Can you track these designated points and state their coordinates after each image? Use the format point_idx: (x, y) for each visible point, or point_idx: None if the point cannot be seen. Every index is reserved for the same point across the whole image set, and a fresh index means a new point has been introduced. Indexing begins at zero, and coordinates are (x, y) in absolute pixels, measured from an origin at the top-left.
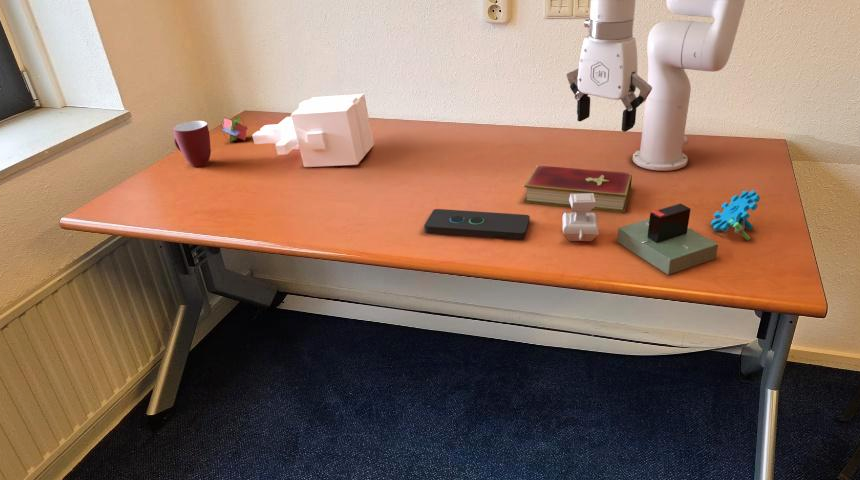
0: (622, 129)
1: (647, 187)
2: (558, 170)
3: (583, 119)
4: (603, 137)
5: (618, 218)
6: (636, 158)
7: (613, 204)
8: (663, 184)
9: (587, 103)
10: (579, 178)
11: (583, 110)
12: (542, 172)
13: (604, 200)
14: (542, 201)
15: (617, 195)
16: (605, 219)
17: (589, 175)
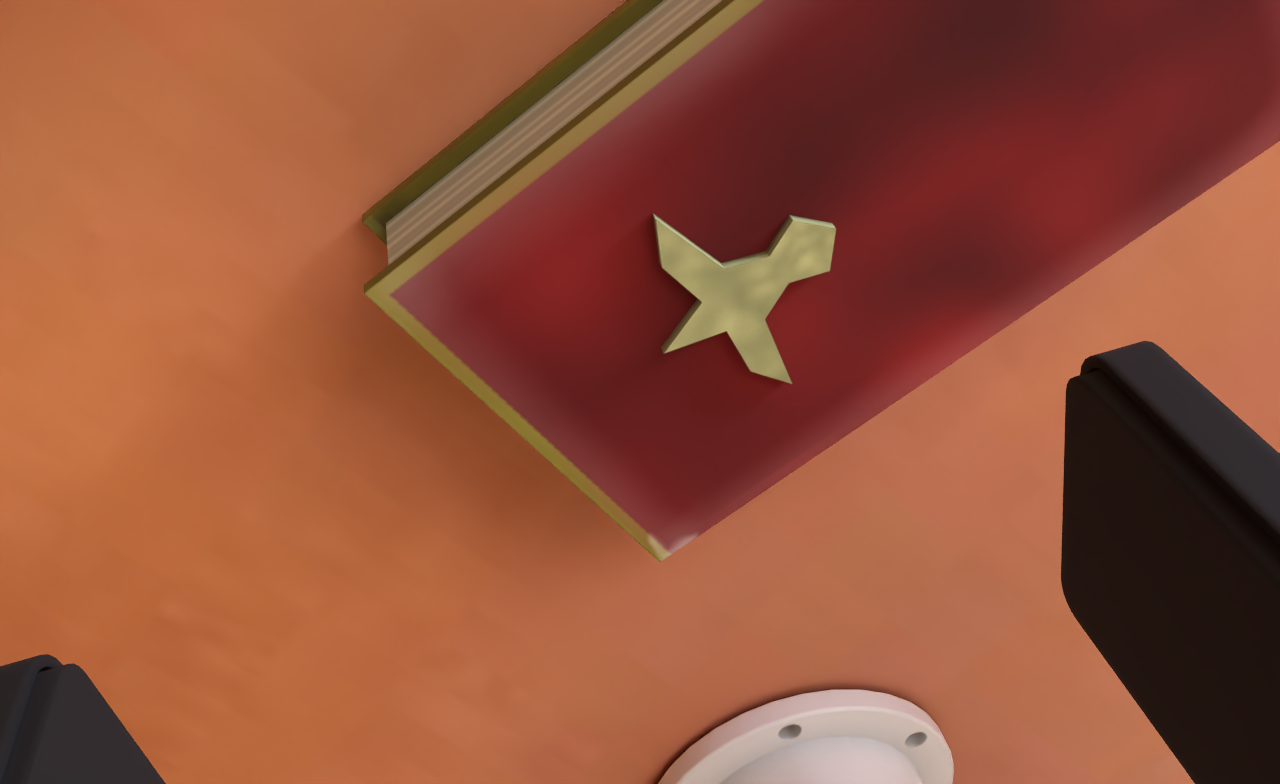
0: (15, 677)
1: (589, 572)
2: (1135, 166)
3: (1069, 449)
4: None
5: (303, 108)
6: (890, 722)
7: (451, 192)
8: (556, 659)
9: (1250, 773)
10: (890, 199)
11: (1186, 570)
12: (1232, 21)
13: (514, 154)
14: None
15: (423, 242)
16: (349, 5)
17: (867, 303)
